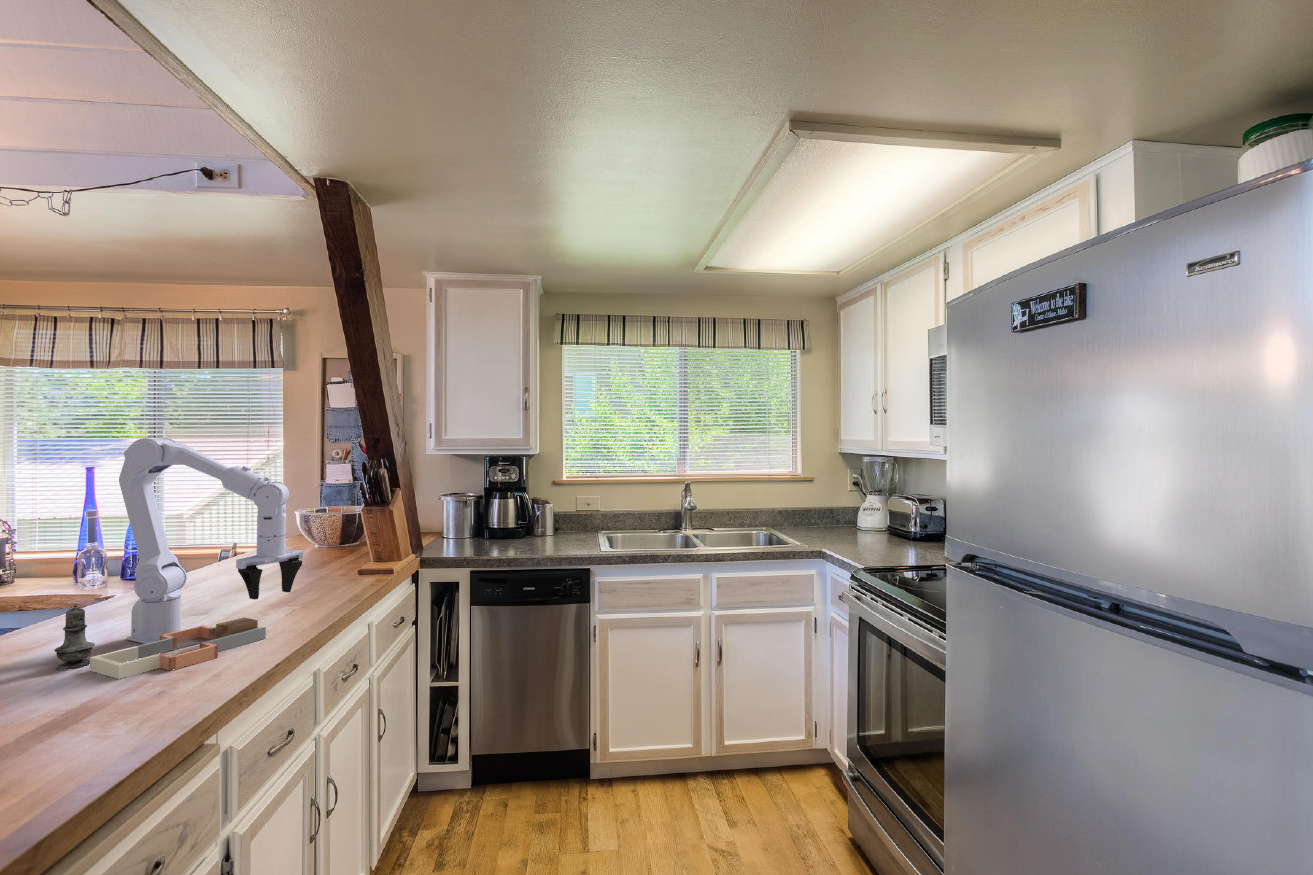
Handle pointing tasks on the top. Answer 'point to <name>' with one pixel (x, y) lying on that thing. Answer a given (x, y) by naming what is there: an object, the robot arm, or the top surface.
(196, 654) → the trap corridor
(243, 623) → the walnut block
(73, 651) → the salt shaker
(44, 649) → the top surface
